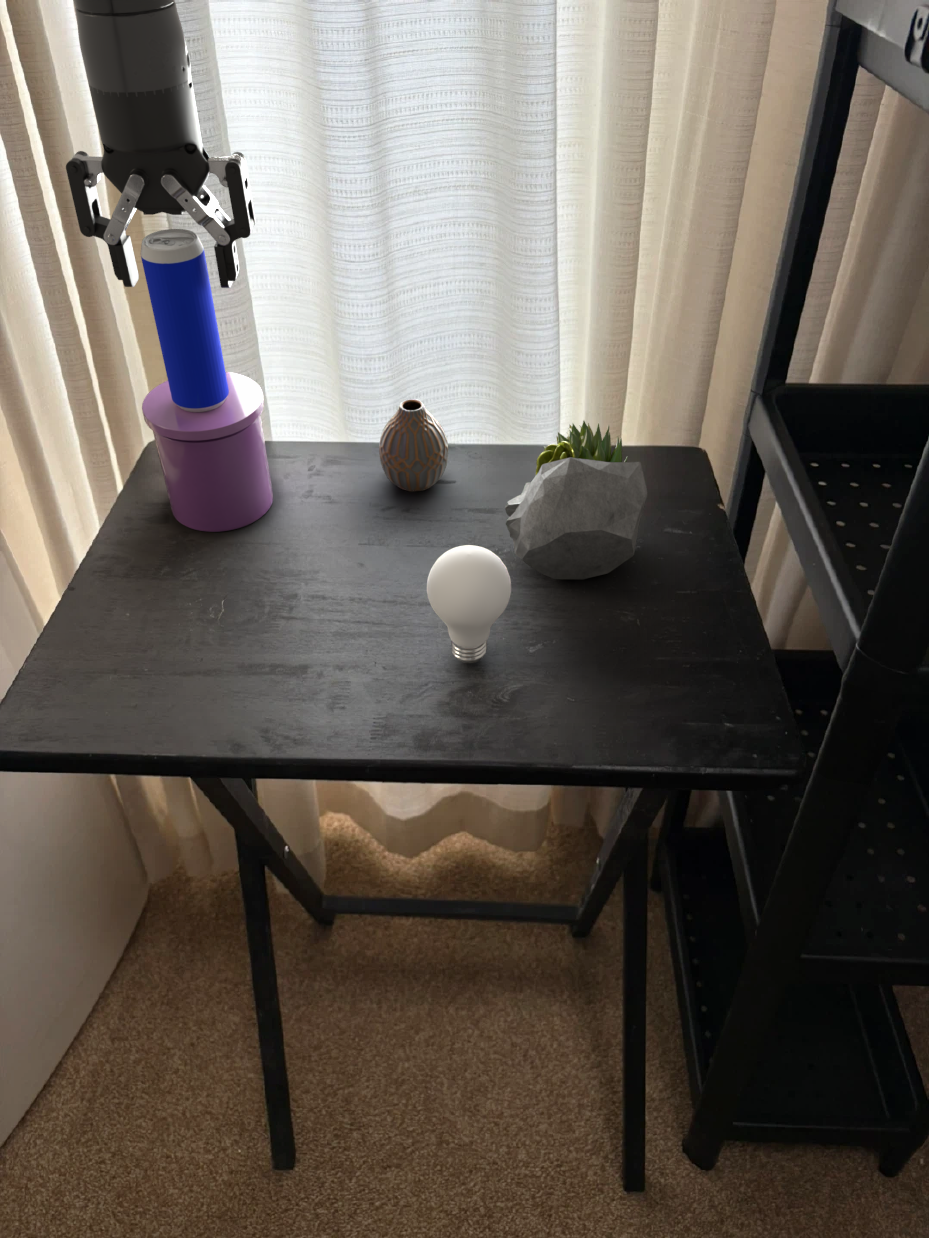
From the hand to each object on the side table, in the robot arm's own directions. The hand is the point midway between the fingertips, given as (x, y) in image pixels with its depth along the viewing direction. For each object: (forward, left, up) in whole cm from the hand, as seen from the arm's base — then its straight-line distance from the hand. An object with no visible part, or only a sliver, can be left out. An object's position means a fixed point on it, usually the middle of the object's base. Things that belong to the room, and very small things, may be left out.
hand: (180, 283), depth 88 cm
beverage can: (0, 0, -11) cm, 11 cm away
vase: (+19, +4, -23) cm, 30 cm away
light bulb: (+25, -22, -23) cm, 40 cm away
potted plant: (+34, -7, -23) cm, 42 cm away
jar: (0, 0, -23) cm, 23 cm away
